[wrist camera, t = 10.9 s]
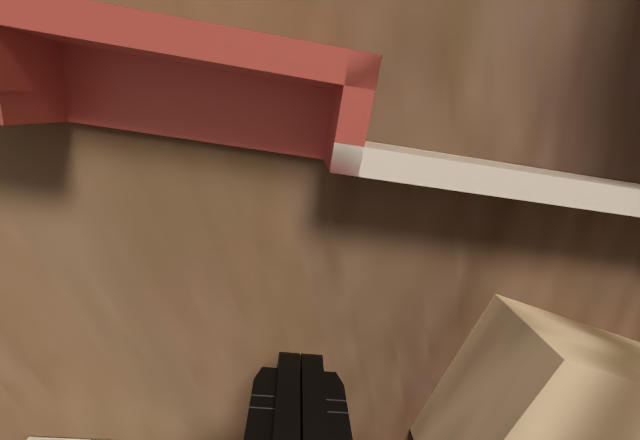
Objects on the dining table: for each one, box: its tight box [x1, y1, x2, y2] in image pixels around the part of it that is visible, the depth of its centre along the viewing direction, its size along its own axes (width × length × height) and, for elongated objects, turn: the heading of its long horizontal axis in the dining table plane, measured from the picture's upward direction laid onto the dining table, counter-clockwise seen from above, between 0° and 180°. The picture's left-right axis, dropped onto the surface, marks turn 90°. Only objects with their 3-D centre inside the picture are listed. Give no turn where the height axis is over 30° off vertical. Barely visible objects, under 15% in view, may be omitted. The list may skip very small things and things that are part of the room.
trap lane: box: [0, 0, 640, 440], centre depth 11 cm, size 28×20×5 cm
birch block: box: [410, 294, 640, 440], centre depth 14 cm, size 8×8×4 cm
